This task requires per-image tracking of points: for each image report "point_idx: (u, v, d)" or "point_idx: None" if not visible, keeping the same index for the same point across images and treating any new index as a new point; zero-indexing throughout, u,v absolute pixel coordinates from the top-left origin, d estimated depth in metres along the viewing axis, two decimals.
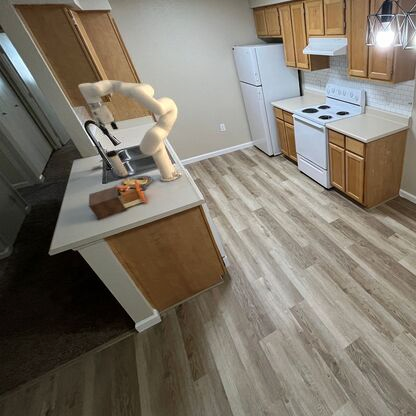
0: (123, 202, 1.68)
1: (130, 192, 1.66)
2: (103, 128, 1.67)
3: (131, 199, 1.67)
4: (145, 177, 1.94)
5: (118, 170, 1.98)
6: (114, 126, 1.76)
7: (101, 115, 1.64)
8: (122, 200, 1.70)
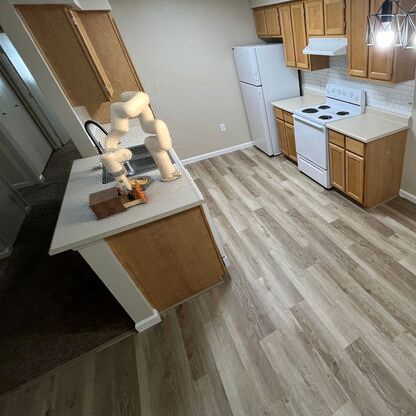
0: (123, 202, 1.68)
1: None
2: (130, 194, 1.65)
3: None
4: (145, 177, 1.94)
5: None
6: None
7: (126, 181, 1.60)
8: (122, 200, 1.70)
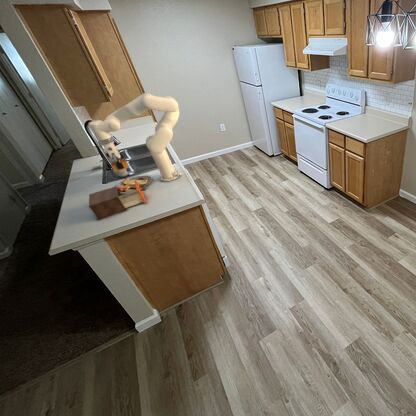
0: (123, 202, 1.68)
1: None
2: (119, 163, 1.71)
3: None
4: (145, 177, 1.94)
5: None
6: None
7: (115, 149, 1.66)
8: (122, 200, 1.70)
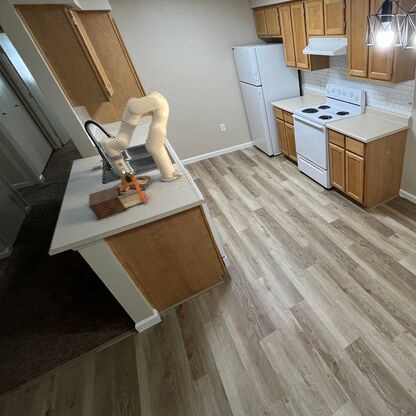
0: (123, 202, 1.68)
1: None
2: (128, 176, 1.78)
3: (129, 183, 1.83)
4: (145, 177, 1.94)
5: (118, 170, 1.98)
6: (128, 174, 1.86)
7: (125, 164, 1.75)
8: (122, 200, 1.70)
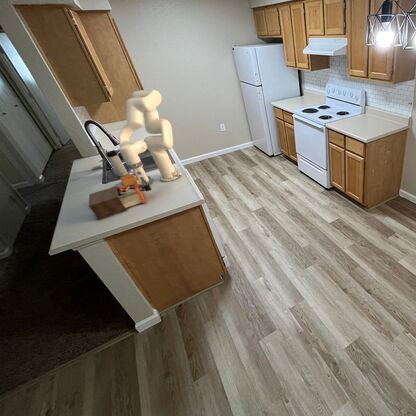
0: (122, 202, 1.67)
1: (128, 176, 1.82)
2: (147, 185, 1.70)
3: (129, 183, 1.83)
4: None
5: (118, 170, 1.98)
6: None
7: (144, 173, 1.64)
8: (121, 200, 1.69)
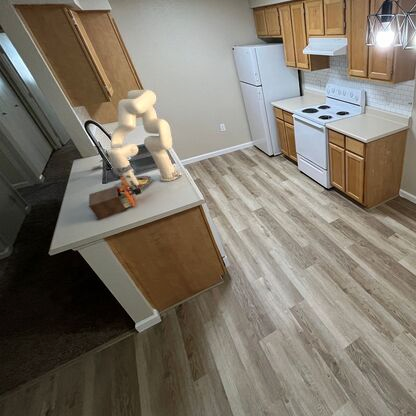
0: None
1: None
2: (137, 188, 1.68)
3: None
4: (145, 177, 1.94)
5: None
6: None
7: (133, 176, 1.61)
8: None
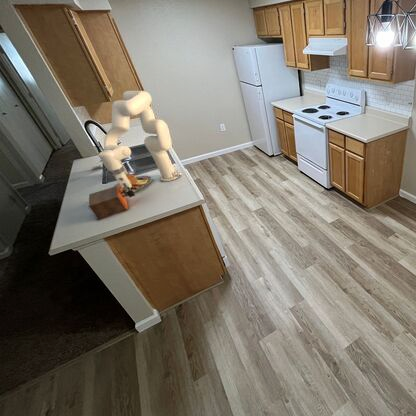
0: None
1: (128, 176, 1.82)
2: (130, 190, 1.66)
3: None
4: (145, 177, 1.94)
5: None
6: None
7: (126, 179, 1.60)
8: None
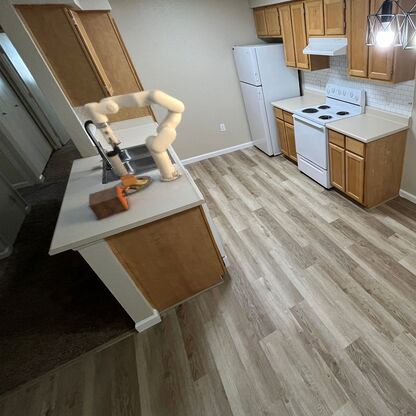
0: None
1: (128, 176, 1.82)
2: (117, 147, 1.66)
3: (129, 183, 1.83)
4: (145, 177, 1.94)
5: (118, 170, 1.98)
6: None
7: (112, 133, 1.59)
8: None
